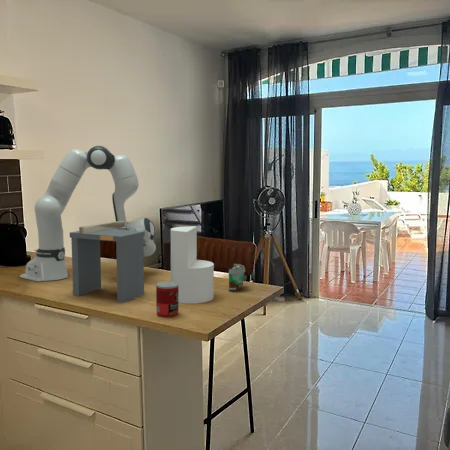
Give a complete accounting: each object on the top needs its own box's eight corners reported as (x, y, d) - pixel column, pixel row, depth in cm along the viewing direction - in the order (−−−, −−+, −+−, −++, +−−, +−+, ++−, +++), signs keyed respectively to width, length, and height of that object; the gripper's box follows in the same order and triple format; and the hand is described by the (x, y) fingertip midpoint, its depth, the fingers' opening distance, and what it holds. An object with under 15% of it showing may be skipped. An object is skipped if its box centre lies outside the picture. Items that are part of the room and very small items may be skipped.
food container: (242, 293, 190) (243, 270, 189) (228, 292, 191) (228, 269, 190) (247, 286, 202) (247, 264, 201) (233, 285, 203) (233, 263, 202)
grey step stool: (70, 295, 183) (68, 232, 180) (97, 286, 198) (95, 228, 195) (121, 303, 173) (120, 236, 170) (145, 293, 188) (144, 231, 185)
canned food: (172, 318, 156) (172, 287, 155) (152, 315, 159) (151, 285, 158) (182, 312, 163) (182, 282, 162) (163, 309, 166) (162, 280, 165)
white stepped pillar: (165, 302, 176) (165, 231, 172) (176, 290, 193) (176, 225, 189) (209, 304, 173) (210, 232, 170) (216, 292, 190) (217, 226, 187)
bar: (79, 233, 178) (79, 227, 178) (119, 226, 202) (119, 220, 202) (85, 233, 177) (85, 227, 177) (124, 226, 201) (124, 221, 201)
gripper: (117, 230, 216) (101, 218, 204) (154, 233, 208) (139, 220, 196) (113, 242, 214) (96, 231, 202) (150, 246, 206) (135, 234, 194)
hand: (117, 226), depth 199 cm, fingers open, 8 cm apart
